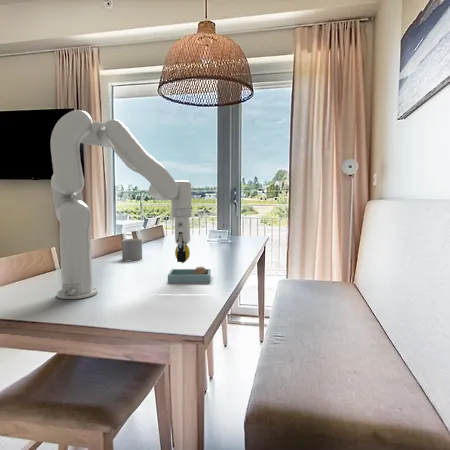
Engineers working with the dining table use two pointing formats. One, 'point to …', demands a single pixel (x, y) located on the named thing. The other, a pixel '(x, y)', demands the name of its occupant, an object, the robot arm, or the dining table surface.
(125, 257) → the coffee mug
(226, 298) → the dining table surface
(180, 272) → the trough
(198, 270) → the walnut ball
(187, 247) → the lemon
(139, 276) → the dining table surface
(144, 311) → the dining table surface
